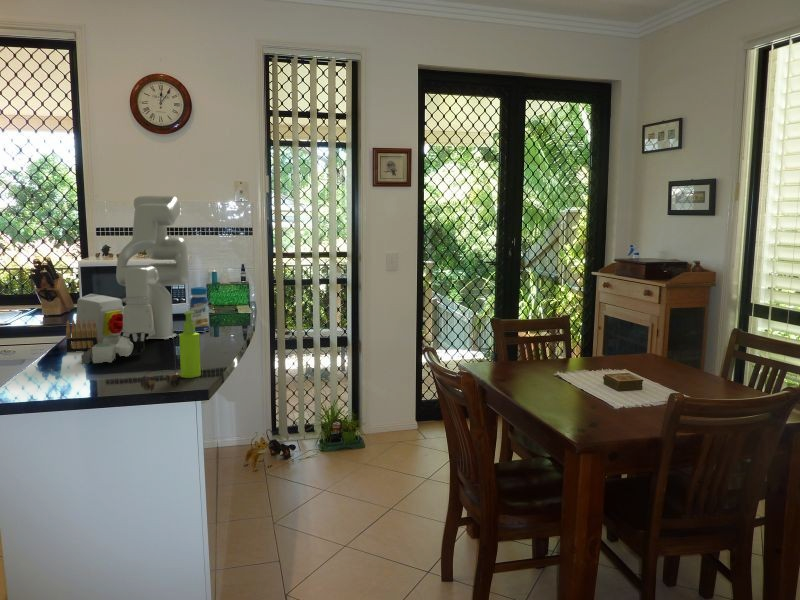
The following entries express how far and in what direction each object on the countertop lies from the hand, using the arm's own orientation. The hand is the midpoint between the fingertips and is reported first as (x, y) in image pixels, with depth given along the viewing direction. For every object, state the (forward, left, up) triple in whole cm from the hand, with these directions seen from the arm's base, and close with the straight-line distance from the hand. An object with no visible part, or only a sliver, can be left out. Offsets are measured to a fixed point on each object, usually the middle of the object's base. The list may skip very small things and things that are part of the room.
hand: (139, 351), depth 225 cm
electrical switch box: (-32, -18, -2) cm, 37 cm away
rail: (0, -12, -1) cm, 12 cm away
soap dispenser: (+39, +21, -2) cm, 44 cm away
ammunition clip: (-14, -22, -2) cm, 27 cm away
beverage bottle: (-51, +18, -2) cm, 54 cm away
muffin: (0, -5, -2) cm, 5 cm away
